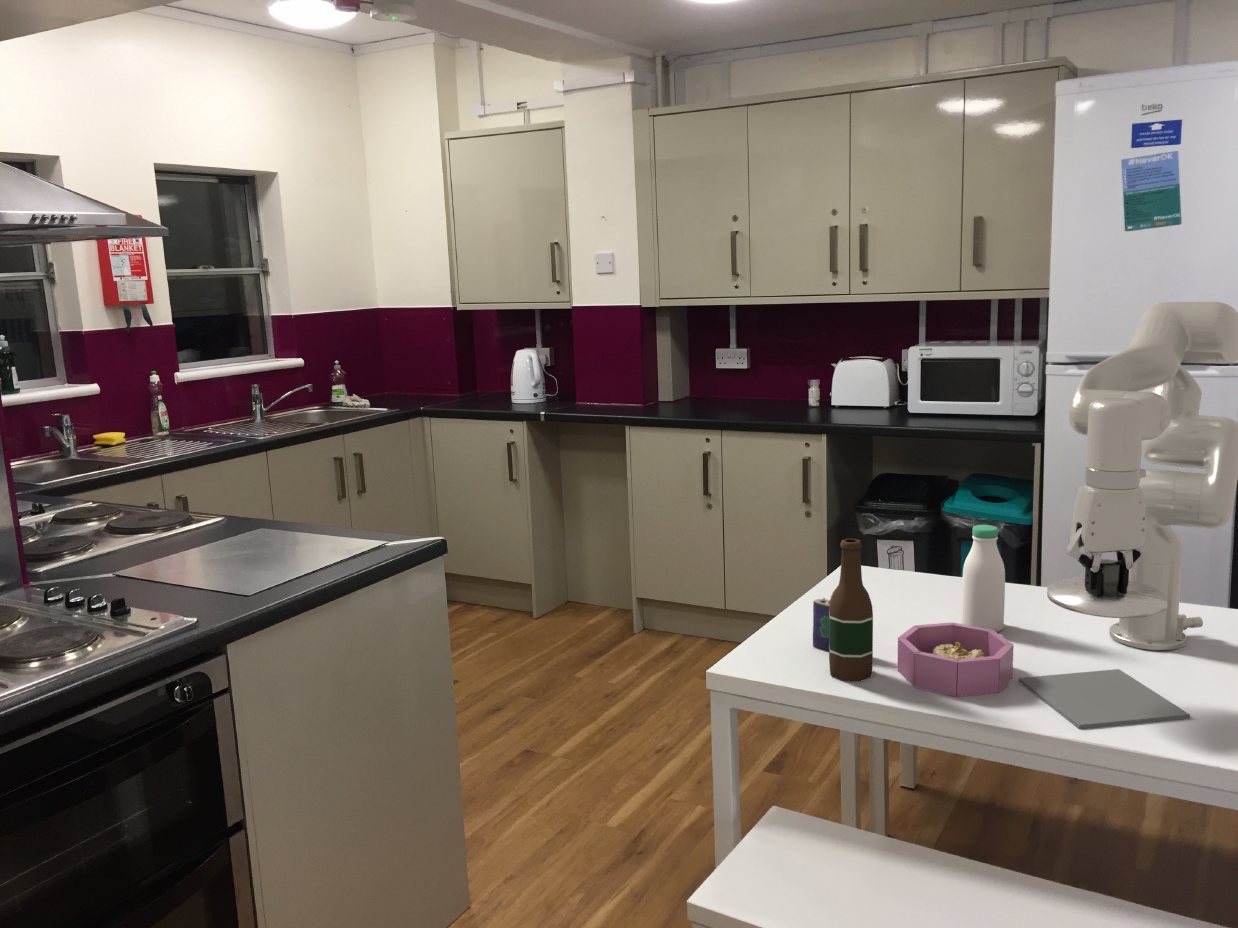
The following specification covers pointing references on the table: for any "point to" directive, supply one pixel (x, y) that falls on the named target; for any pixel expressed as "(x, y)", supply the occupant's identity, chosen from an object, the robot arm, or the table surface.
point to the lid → (1108, 596)
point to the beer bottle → (850, 620)
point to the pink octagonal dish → (951, 672)
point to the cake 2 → (956, 652)
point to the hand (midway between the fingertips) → (1106, 591)
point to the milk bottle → (983, 581)
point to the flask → (821, 624)
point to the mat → (1102, 698)
